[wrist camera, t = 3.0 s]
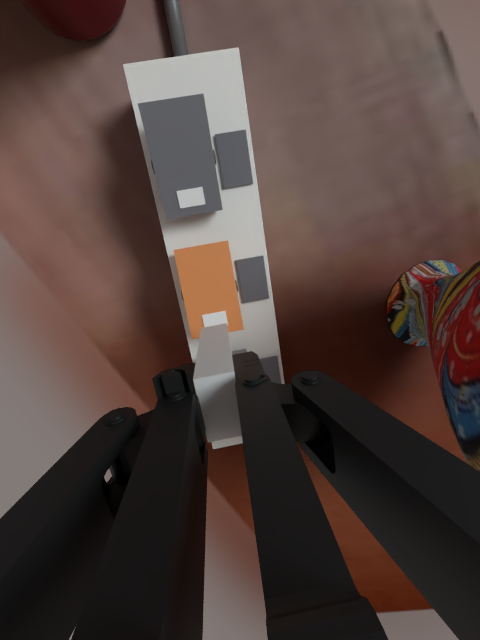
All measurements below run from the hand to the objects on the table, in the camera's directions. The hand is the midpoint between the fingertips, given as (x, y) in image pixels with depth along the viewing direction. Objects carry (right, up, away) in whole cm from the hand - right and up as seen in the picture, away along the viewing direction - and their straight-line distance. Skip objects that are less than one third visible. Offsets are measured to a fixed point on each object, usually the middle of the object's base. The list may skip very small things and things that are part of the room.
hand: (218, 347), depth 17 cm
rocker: (-2, +11, 0) cm, 11 cm away
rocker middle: (-1, +4, +3) cm, 5 cm away
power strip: (-1, +11, +6) cm, 13 cm away
